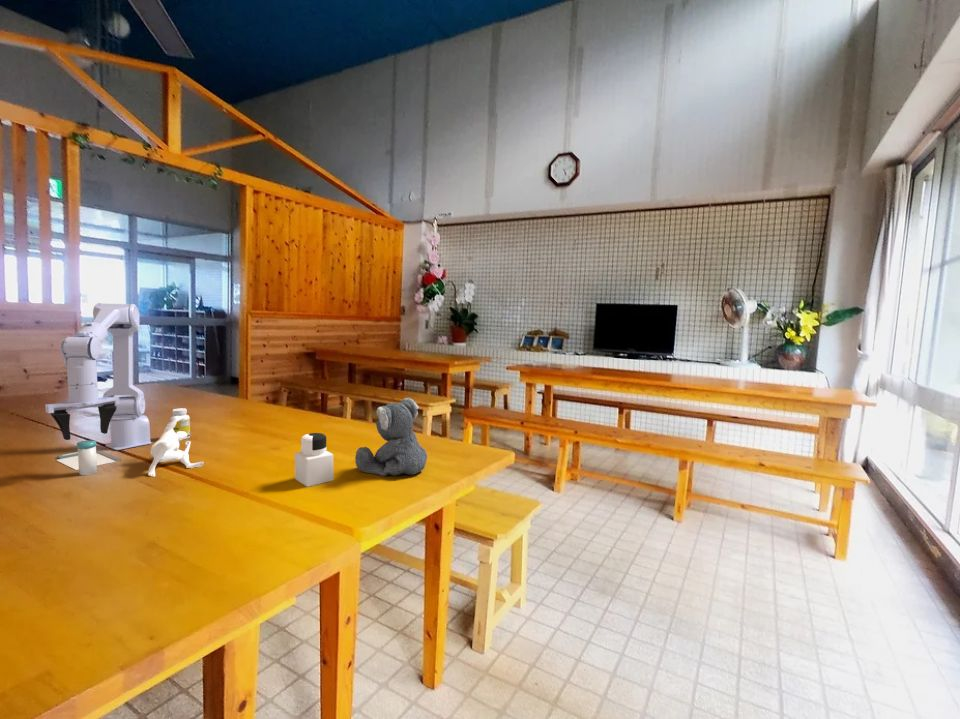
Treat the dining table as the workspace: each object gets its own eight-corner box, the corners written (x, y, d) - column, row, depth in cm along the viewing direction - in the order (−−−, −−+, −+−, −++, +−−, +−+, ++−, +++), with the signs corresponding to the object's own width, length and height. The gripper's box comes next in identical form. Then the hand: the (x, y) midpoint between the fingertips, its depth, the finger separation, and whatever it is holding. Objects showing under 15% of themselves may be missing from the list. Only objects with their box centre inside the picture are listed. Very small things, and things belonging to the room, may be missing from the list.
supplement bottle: (167, 438, 152) (166, 409, 152) (184, 435, 157) (183, 407, 156) (177, 441, 150) (175, 411, 149) (193, 437, 155) (192, 408, 154)
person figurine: (197, 431, 123) (181, 408, 135) (140, 449, 115) (128, 423, 127) (208, 472, 127) (192, 447, 140) (154, 492, 120) (142, 464, 132)
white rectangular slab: (99, 451, 137) (99, 450, 137) (120, 460, 130) (120, 459, 130) (56, 460, 129) (56, 458, 129) (75, 470, 122) (75, 468, 122)
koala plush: (393, 455, 141) (393, 392, 139) (440, 466, 132) (442, 399, 130) (350, 471, 126) (350, 400, 124) (400, 485, 117) (401, 409, 115)
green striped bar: (92, 451, 138) (92, 448, 138) (95, 452, 137) (94, 449, 137) (57, 457, 131) (57, 455, 131) (60, 459, 130) (59, 456, 130)
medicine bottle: (321, 473, 124) (320, 429, 123) (333, 480, 119) (333, 435, 118) (294, 479, 119) (294, 434, 118) (306, 487, 114) (306, 439, 113)
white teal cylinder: (94, 469, 122) (92, 439, 122) (100, 472, 120) (98, 441, 120) (76, 473, 119) (74, 442, 118) (82, 476, 117) (80, 445, 116)
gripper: (51, 389, 109) (55, 444, 111) (123, 382, 122) (126, 432, 123) (40, 385, 113) (44, 440, 114) (111, 379, 125) (114, 428, 127)
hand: (86, 436), depth 119 cm, fingers open, 7 cm apart
